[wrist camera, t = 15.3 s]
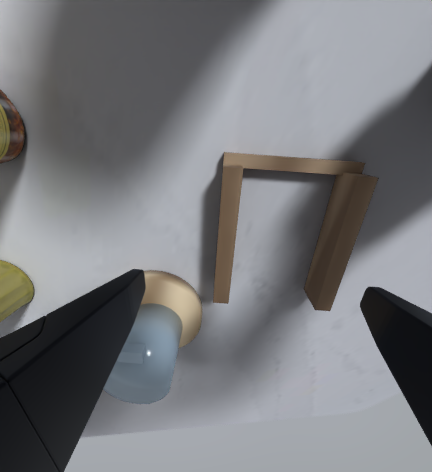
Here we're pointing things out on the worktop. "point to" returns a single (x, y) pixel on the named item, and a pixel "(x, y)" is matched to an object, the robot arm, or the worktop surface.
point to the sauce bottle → (10, 130)
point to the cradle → (332, 231)
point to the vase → (13, 289)
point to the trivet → (175, 300)
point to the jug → (147, 356)
